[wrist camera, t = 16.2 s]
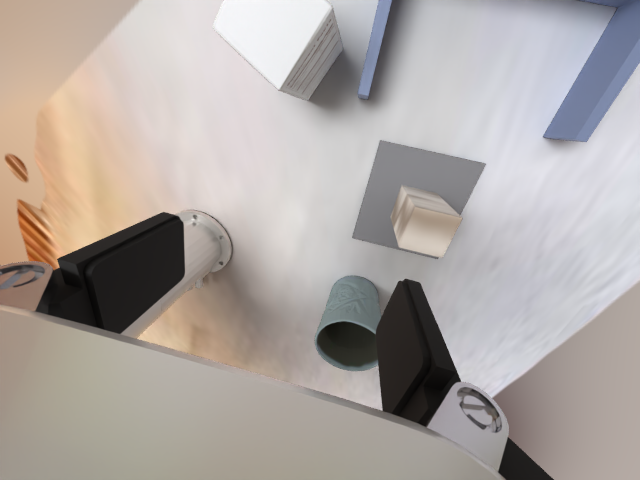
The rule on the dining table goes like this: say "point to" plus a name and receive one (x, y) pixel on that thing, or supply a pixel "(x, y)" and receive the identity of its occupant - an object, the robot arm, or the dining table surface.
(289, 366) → the dining table surface
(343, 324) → the green cup
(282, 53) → the supplement box
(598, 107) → the blue u-shaped wall
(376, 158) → the grey pad
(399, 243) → the cream blank
